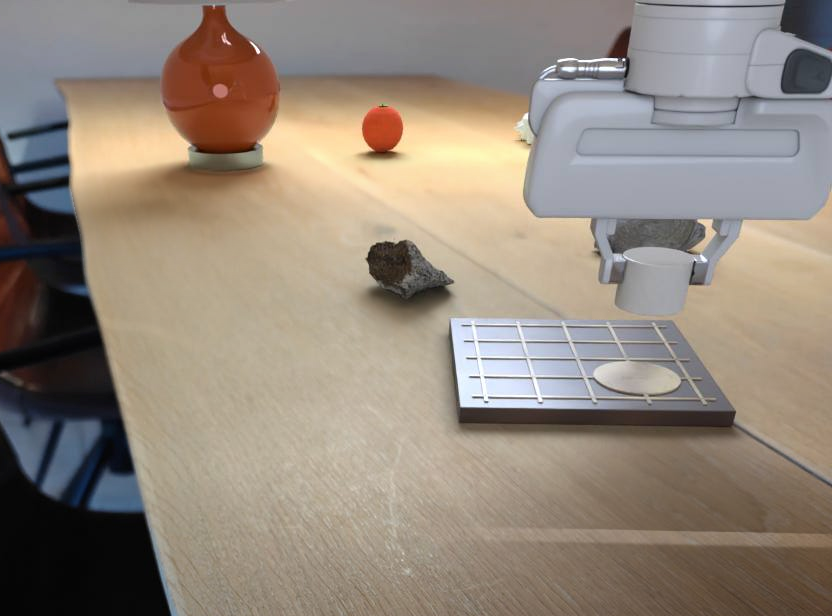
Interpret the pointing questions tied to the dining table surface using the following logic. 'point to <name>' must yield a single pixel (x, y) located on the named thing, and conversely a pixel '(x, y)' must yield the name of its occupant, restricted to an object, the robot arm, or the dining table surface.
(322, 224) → the dining table surface
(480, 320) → the game board
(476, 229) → the dining table surface
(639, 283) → the gray cylinder
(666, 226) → the fossilized seashell
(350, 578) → the dining table surface
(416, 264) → the rock sample
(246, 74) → the lamp
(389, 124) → the clementine
